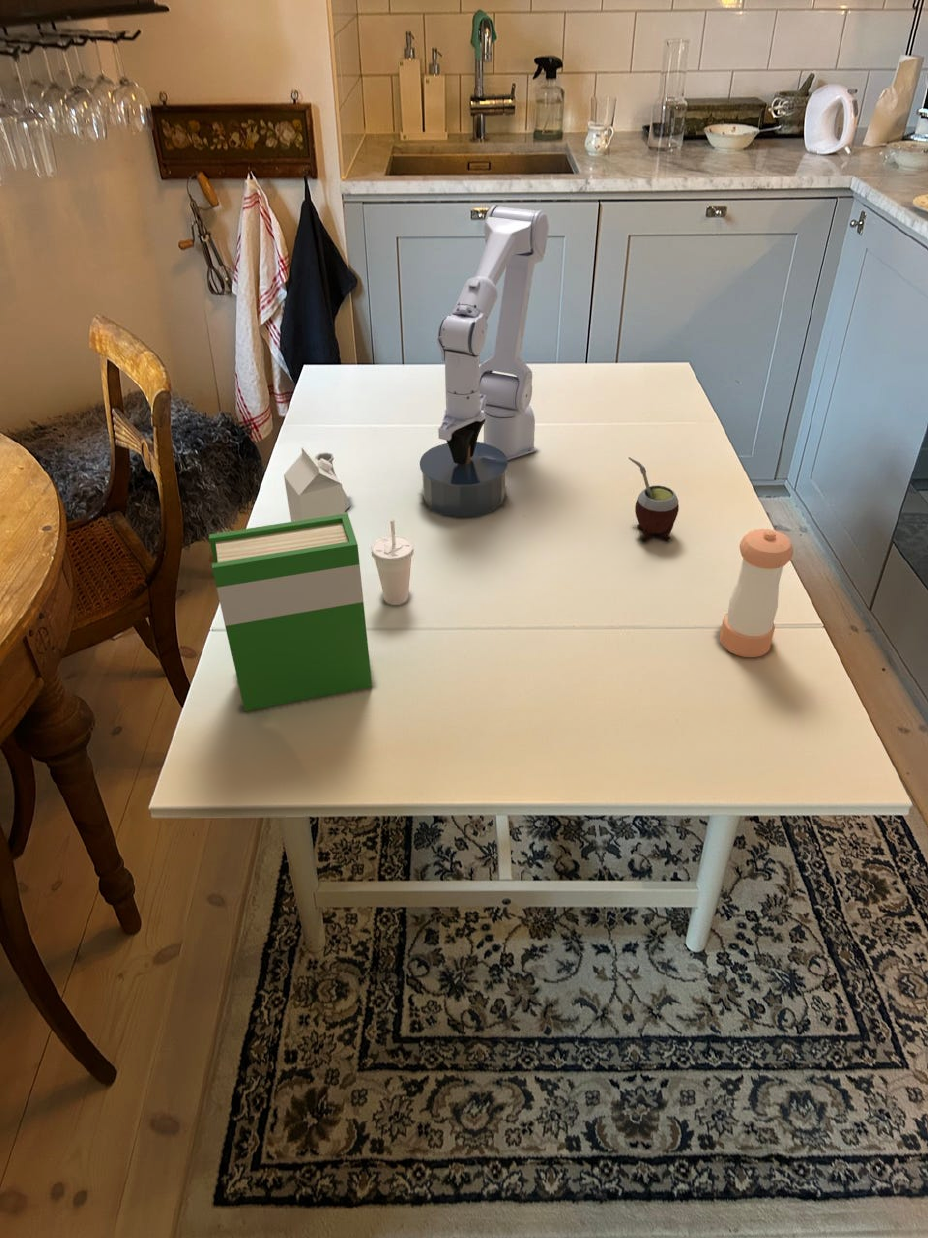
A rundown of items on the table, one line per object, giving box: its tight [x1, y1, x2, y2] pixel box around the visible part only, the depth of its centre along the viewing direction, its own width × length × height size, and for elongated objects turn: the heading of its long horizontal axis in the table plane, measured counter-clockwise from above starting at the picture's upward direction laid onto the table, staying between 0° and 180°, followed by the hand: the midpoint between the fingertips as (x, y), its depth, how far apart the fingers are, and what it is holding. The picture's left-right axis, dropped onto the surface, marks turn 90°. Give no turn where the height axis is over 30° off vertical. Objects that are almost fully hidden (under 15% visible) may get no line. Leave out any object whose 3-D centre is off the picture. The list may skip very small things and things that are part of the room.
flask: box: [314, 452, 351, 511], centre depth 165 cm, size 7×7×10 cm
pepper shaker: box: [719, 528, 794, 658], centre depth 131 cm, size 7×7×19 cm
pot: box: [421, 472, 506, 518], centre depth 168 cm, size 15×15×6 cm
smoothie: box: [370, 518, 415, 606], centre depth 142 cm, size 6×6×14 cm
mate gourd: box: [628, 456, 680, 543], centre depth 155 cm, size 8×8×15 cm
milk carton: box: [283, 446, 346, 522], centre depth 149 cm, size 7×7×19 cm
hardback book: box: [208, 512, 373, 712], centre depth 124 cm, size 18×7×24 cm, turn 105°
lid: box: [419, 441, 509, 487], centre depth 165 cm, size 16×16×4 cm
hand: (463, 459), depth 165 cm, fingers closed on lid, 2 cm apart
